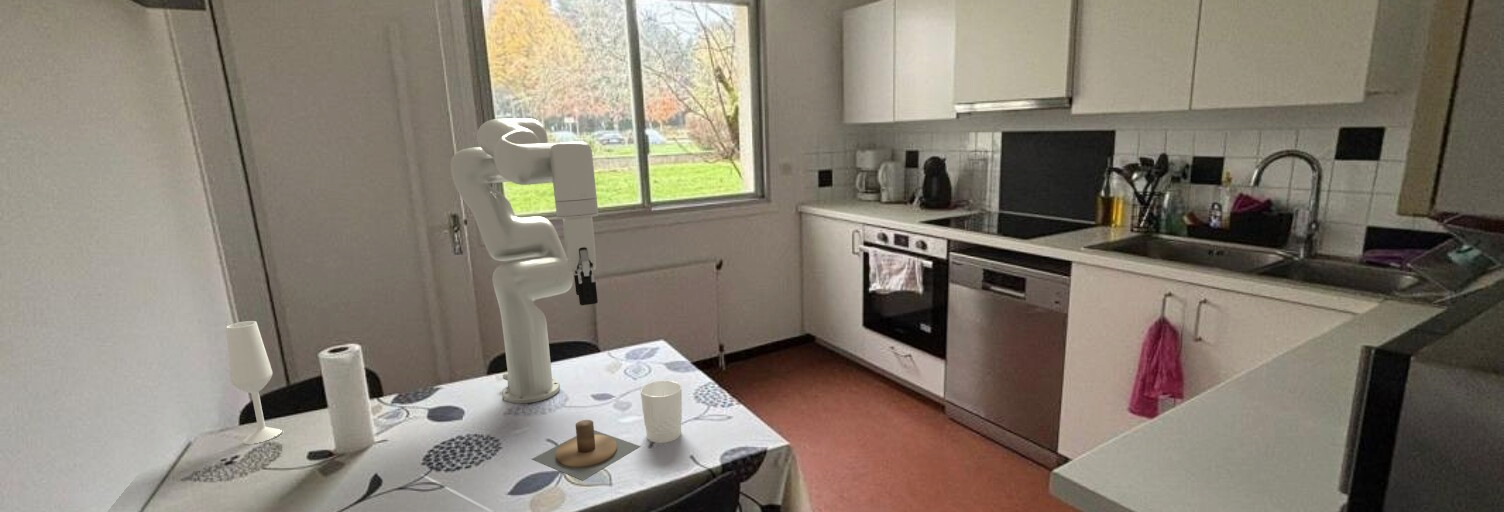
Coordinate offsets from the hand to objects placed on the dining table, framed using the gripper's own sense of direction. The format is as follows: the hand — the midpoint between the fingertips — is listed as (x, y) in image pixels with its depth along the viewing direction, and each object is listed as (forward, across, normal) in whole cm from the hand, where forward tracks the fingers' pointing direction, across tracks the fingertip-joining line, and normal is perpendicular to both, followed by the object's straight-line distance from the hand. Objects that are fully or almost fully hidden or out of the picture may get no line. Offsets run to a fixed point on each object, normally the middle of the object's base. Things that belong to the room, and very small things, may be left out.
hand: (586, 298), depth 120 cm
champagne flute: (+26, -28, -65) cm, 76 cm away
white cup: (+29, +4, +12) cm, 31 cm away
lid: (+28, +6, -3) cm, 29 cm away
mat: (+28, +6, -3) cm, 29 cm away
